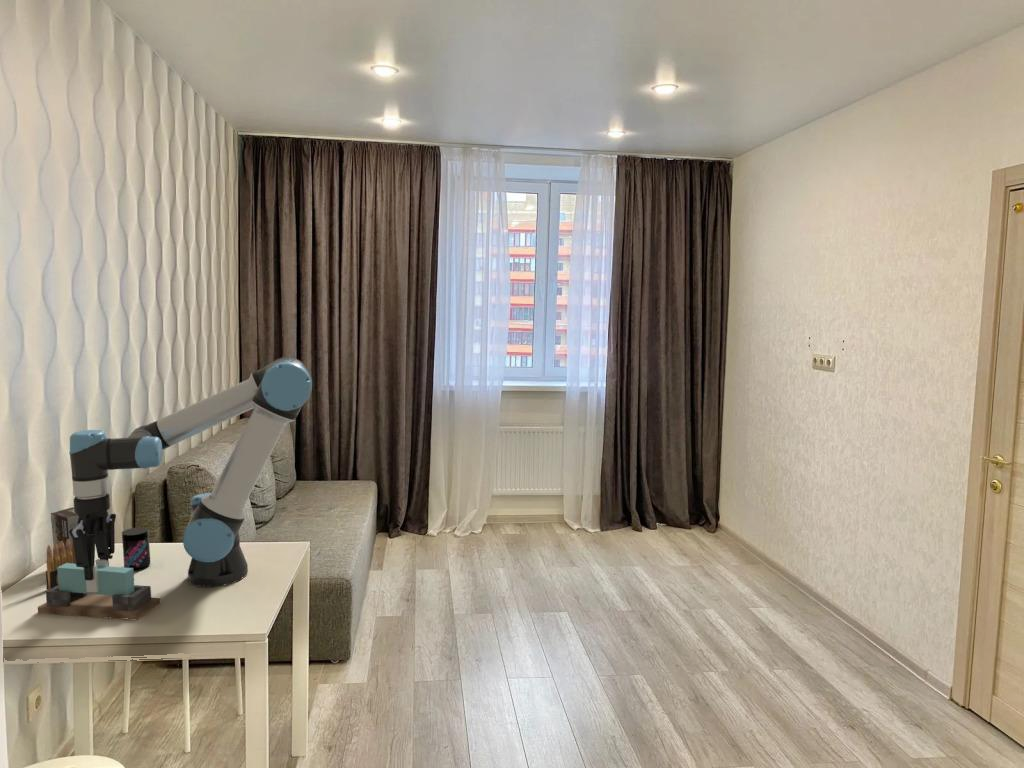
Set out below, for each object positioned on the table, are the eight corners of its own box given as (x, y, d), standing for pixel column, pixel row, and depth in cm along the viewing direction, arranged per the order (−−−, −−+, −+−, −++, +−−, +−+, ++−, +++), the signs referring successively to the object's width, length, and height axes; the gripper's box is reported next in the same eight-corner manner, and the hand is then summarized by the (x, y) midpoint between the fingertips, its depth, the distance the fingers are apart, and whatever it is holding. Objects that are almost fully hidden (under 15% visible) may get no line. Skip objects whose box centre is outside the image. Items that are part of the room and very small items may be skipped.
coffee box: (95, 567, 207) (91, 511, 205) (71, 574, 201) (66, 517, 199) (78, 560, 212) (73, 506, 210) (54, 568, 206) (49, 512, 204)
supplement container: (118, 570, 205) (115, 534, 203) (136, 561, 211) (134, 526, 210) (138, 572, 203) (136, 536, 202) (156, 563, 210) (154, 528, 208)
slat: (134, 591, 180) (133, 568, 179) (126, 596, 177) (125, 572, 176) (67, 586, 183) (66, 562, 182) (58, 591, 180) (57, 567, 179)
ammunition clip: (51, 591, 191) (47, 546, 189) (46, 590, 191) (42, 545, 190) (89, 576, 200) (85, 533, 199) (84, 575, 201) (81, 533, 200)
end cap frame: (160, 603, 183) (159, 584, 183) (137, 619, 174) (135, 599, 174) (65, 597, 187) (63, 578, 186) (38, 613, 178) (36, 593, 177)
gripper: (100, 485, 185) (106, 574, 188) (52, 503, 169) (59, 601, 172) (127, 486, 184) (133, 576, 187) (81, 505, 168) (89, 603, 171)
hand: (98, 588), depth 180 cm, fingers closed on slat, 3 cm apart
